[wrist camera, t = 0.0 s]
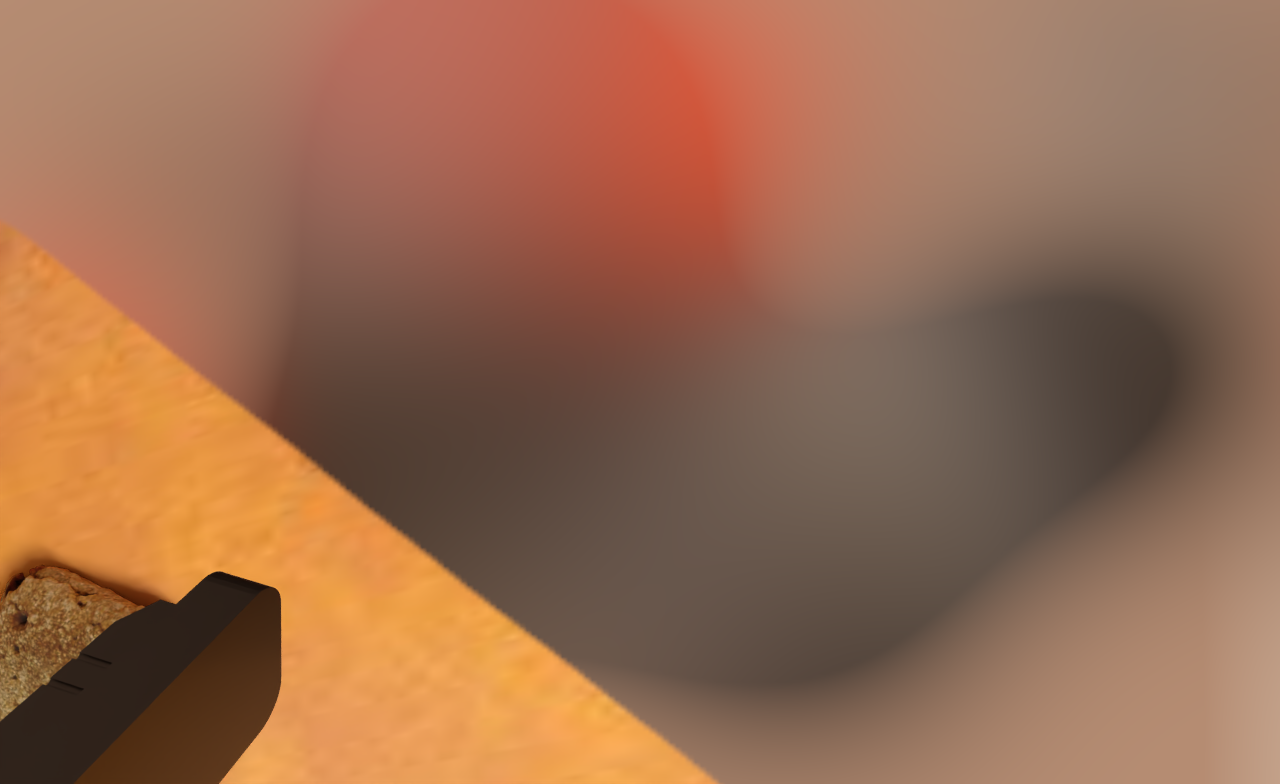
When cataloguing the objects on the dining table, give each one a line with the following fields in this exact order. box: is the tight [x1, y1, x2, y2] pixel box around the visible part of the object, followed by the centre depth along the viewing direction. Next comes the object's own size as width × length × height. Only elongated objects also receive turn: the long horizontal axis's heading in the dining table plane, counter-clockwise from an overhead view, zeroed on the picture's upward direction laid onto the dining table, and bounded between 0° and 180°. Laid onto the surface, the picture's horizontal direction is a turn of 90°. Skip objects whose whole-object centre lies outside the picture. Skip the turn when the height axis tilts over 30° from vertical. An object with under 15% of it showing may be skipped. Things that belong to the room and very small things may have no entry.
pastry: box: [0, 565, 144, 721], centre depth 47 cm, size 17×17×3 cm
